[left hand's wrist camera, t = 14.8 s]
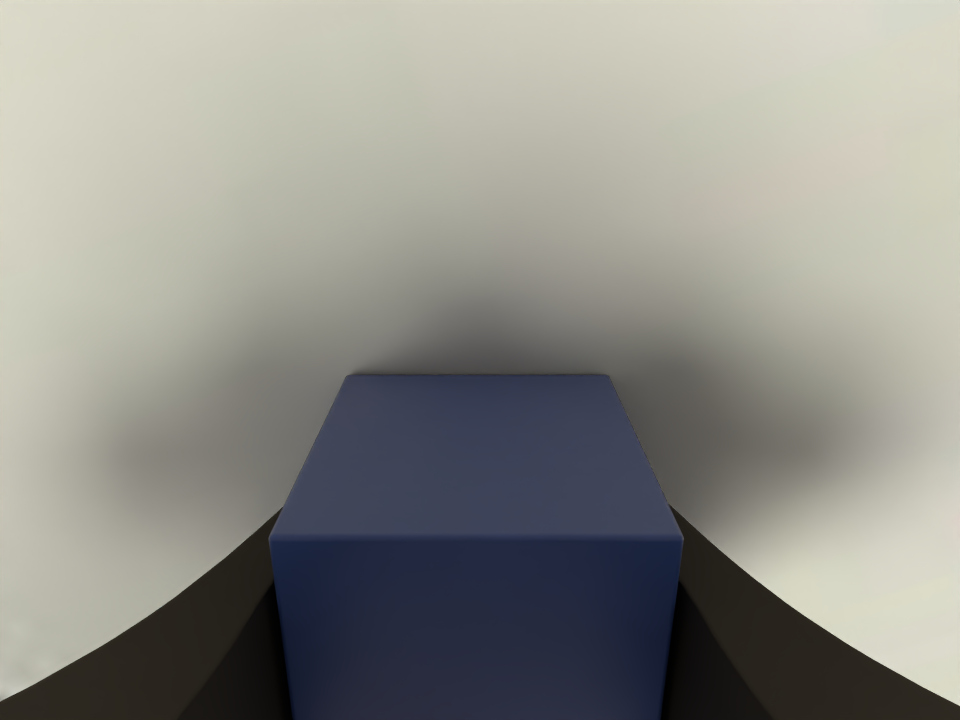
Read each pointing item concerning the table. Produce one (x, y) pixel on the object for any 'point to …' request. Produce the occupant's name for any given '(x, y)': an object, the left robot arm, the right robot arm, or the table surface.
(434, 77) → the table surface
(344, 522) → the block
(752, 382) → the table surface
